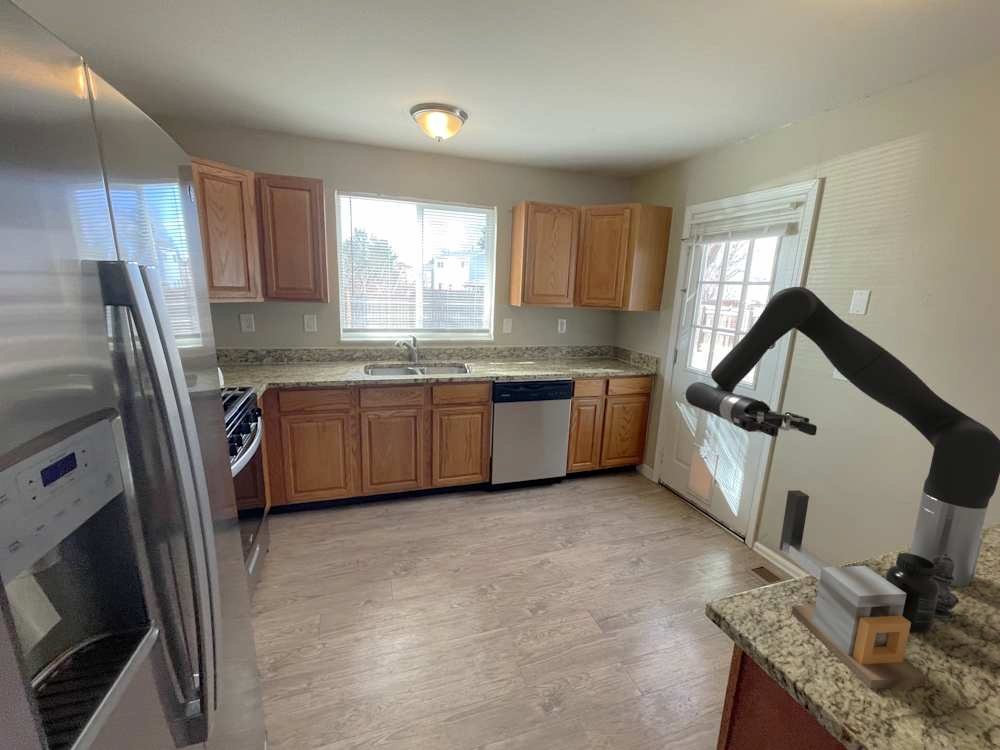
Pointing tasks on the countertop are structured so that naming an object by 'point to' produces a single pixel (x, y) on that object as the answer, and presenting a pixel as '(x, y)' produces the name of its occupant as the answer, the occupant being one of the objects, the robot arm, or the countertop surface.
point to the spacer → (895, 642)
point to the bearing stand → (857, 621)
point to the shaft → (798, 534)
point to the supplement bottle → (916, 589)
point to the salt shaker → (944, 586)
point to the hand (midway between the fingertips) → (795, 431)
